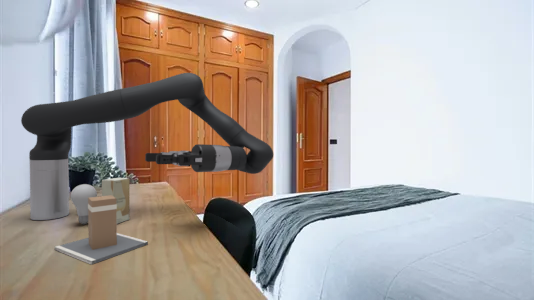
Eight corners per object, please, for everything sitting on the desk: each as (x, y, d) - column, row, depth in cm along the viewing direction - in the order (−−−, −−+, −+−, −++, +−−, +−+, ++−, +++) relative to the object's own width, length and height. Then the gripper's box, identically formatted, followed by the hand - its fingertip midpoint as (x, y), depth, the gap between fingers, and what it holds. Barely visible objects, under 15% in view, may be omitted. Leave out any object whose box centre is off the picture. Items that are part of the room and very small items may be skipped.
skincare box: (114, 225, 76) (114, 180, 76) (101, 224, 77) (100, 179, 77) (130, 219, 83) (130, 177, 82) (117, 218, 84) (117, 177, 83)
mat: (54, 249, 59) (54, 246, 59) (110, 233, 70) (110, 231, 69) (91, 264, 52) (91, 261, 52) (147, 244, 62) (147, 241, 62)
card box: (88, 243, 61) (87, 197, 61) (112, 238, 64) (111, 195, 64) (92, 249, 58) (91, 201, 57) (117, 244, 61) (116, 198, 60)
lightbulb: (65, 225, 76) (64, 185, 75) (87, 220, 81) (87, 182, 81) (80, 228, 73) (80, 186, 73) (102, 222, 79) (102, 183, 79)
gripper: (200, 144, 84) (142, 142, 74) (224, 145, 73) (161, 143, 63) (199, 169, 84) (141, 171, 74) (223, 174, 73) (160, 177, 63)
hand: (150, 158), depth 68 cm, fingers open, 8 cm apart
